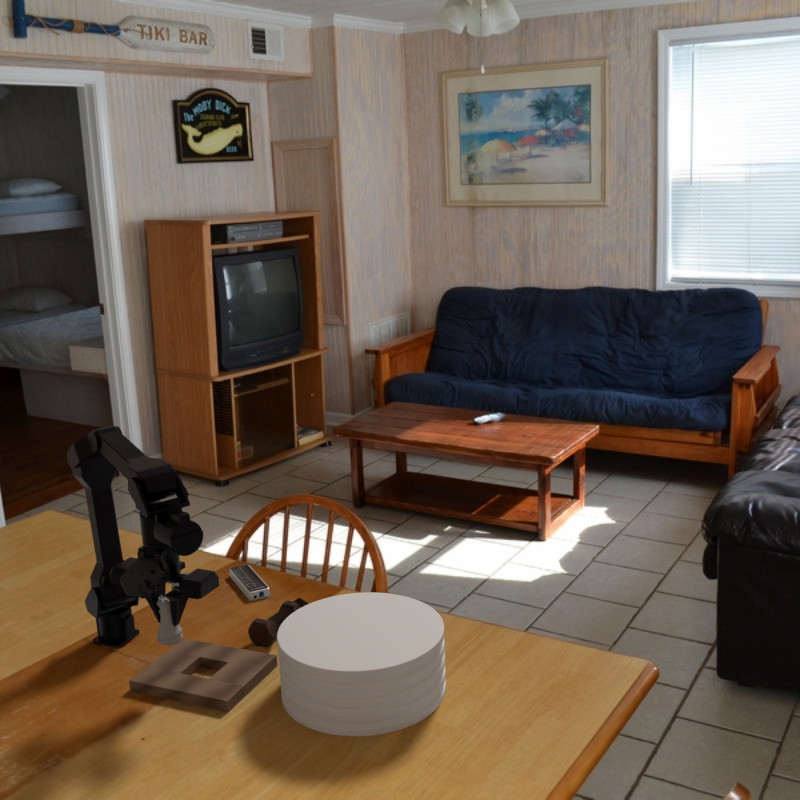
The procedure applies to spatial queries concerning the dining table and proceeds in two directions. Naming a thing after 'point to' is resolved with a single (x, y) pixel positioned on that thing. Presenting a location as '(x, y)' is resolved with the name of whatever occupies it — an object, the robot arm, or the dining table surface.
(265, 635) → the bolt
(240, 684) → the socket board
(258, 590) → the multiport hub
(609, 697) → the dining table surface
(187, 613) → the dining table surface
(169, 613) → the rook chess piece
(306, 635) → the plate stack
